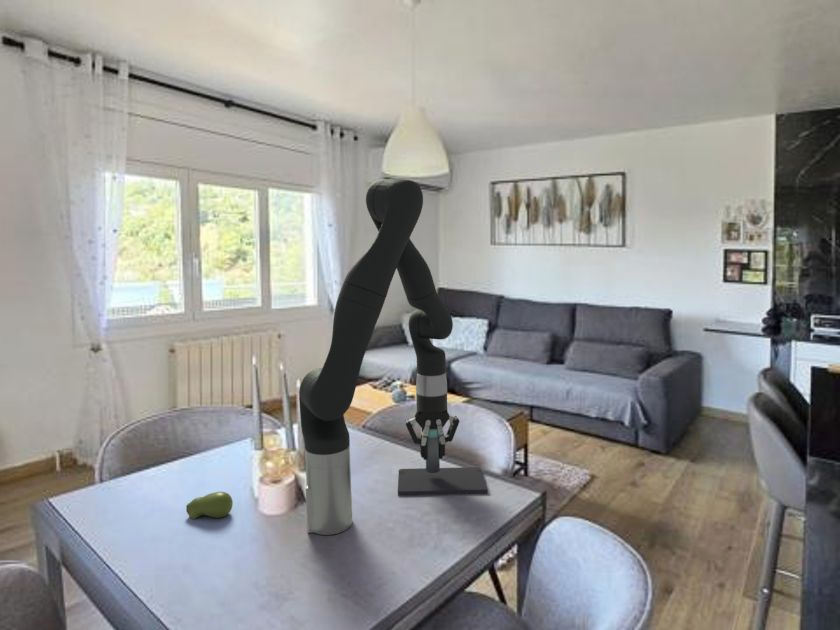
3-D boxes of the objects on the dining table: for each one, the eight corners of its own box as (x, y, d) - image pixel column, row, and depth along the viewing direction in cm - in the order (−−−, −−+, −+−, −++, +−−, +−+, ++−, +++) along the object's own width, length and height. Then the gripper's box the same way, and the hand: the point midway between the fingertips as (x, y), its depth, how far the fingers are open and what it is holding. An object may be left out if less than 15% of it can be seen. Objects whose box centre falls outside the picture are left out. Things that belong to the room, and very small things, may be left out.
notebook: (397, 497, 124) (487, 495, 124) (397, 491, 124) (487, 489, 124) (398, 474, 136) (480, 472, 137) (398, 468, 136) (480, 466, 136)
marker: (426, 473, 129) (425, 430, 127) (424, 467, 132) (423, 425, 131) (441, 472, 129) (440, 429, 128) (438, 466, 133) (438, 424, 131)
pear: (222, 498, 112) (178, 504, 113) (227, 521, 113) (184, 526, 114) (233, 485, 118) (192, 491, 119) (239, 507, 118) (197, 513, 119)
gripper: (404, 396, 123) (406, 466, 126) (463, 393, 125) (463, 462, 127) (401, 388, 131) (402, 454, 133) (456, 385, 132) (457, 450, 135)
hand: (432, 457), depth 130 cm, fingers closed on marker, 3 cm apart
